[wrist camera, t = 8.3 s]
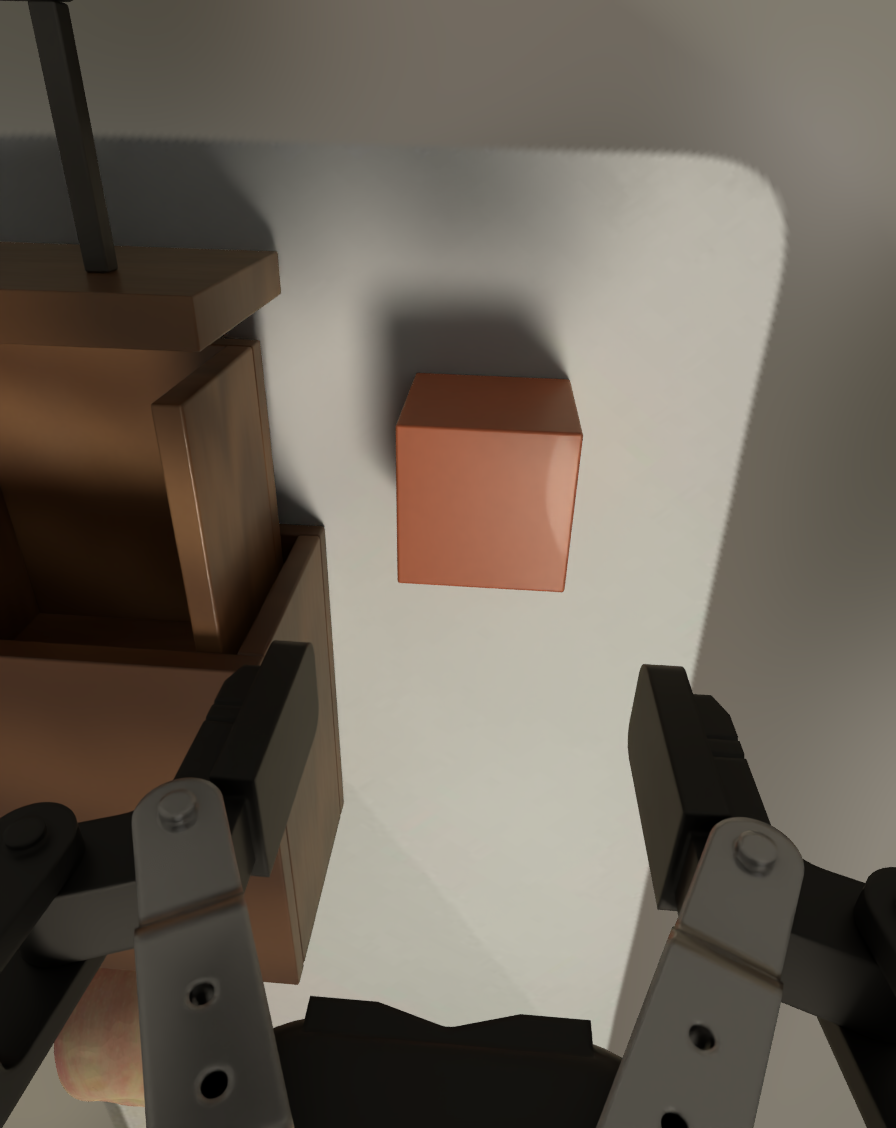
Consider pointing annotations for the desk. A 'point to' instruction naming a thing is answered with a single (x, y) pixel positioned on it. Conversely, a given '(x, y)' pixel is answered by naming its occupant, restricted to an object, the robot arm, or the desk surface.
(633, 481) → the desk surface
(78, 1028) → the apple
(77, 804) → the cabinet
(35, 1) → the drawer
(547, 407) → the block
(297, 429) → the desk surface
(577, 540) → the desk surface
